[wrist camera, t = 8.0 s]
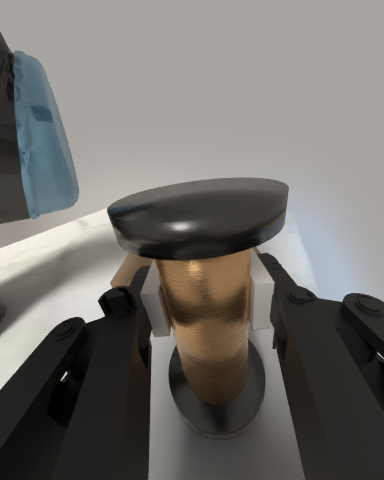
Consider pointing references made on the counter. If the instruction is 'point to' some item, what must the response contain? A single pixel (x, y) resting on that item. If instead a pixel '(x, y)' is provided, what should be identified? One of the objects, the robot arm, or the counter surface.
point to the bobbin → (207, 288)
